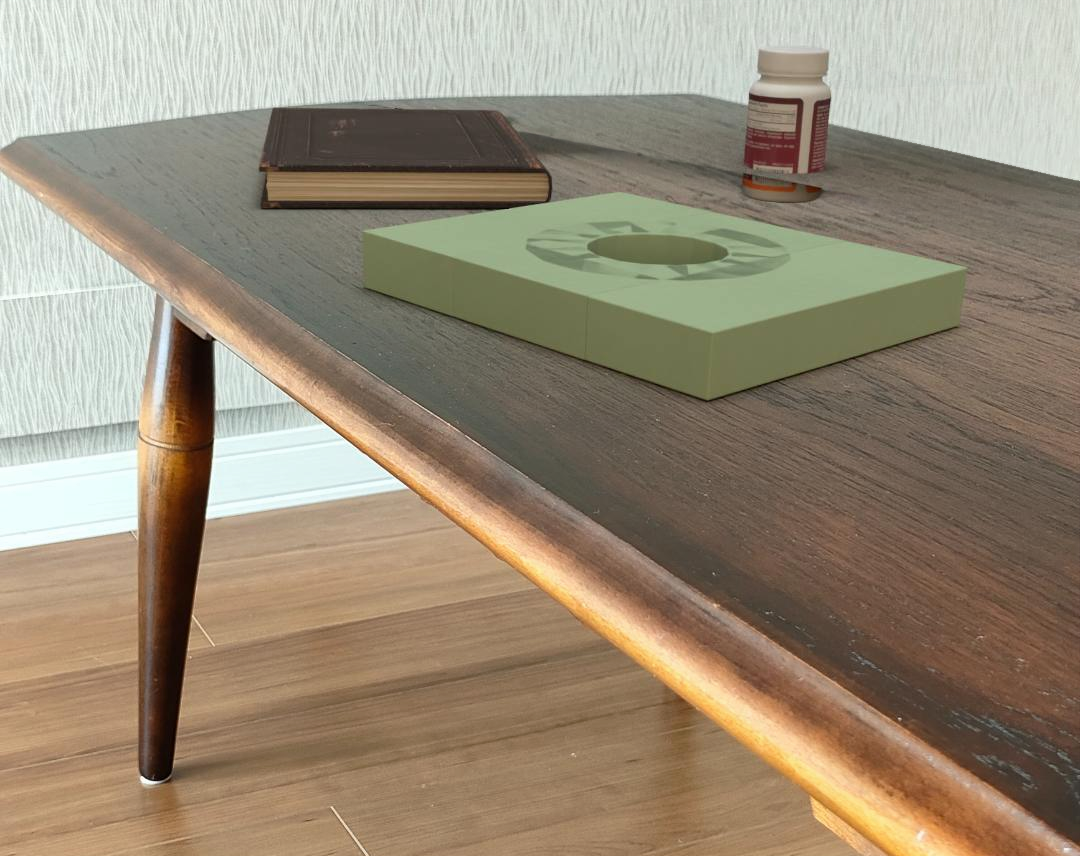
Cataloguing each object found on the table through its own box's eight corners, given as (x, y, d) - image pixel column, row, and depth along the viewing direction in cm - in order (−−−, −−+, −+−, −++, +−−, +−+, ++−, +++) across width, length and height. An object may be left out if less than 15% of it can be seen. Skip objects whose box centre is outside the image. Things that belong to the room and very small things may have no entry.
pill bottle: (794, 187, 89) (808, 44, 86) (836, 201, 85) (852, 52, 82) (726, 190, 88) (737, 44, 84) (765, 205, 84) (778, 53, 80)
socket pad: (959, 326, 60) (968, 267, 59) (707, 401, 50) (712, 331, 49) (617, 241, 74) (619, 191, 73) (363, 287, 64) (362, 230, 63)
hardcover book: (260, 208, 79) (258, 165, 78) (274, 142, 99) (272, 107, 99) (551, 208, 81) (553, 166, 80) (505, 144, 102) (505, 110, 101)
